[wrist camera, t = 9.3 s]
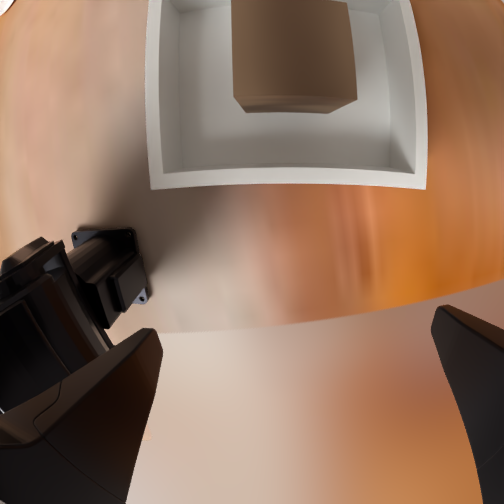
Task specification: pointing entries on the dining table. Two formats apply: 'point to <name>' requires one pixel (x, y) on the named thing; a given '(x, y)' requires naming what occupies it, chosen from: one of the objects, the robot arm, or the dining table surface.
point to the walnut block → (292, 56)
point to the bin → (282, 123)
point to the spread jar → (5, 5)
